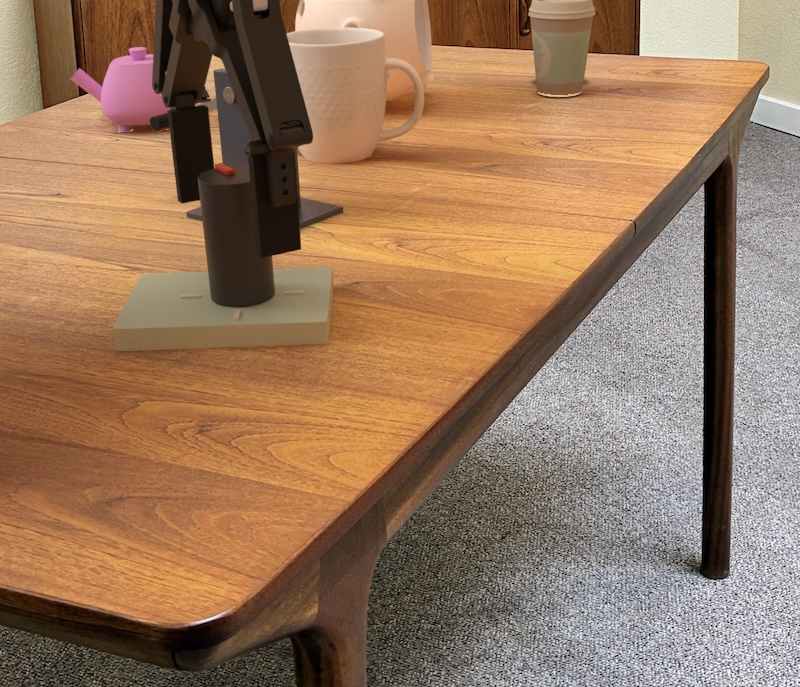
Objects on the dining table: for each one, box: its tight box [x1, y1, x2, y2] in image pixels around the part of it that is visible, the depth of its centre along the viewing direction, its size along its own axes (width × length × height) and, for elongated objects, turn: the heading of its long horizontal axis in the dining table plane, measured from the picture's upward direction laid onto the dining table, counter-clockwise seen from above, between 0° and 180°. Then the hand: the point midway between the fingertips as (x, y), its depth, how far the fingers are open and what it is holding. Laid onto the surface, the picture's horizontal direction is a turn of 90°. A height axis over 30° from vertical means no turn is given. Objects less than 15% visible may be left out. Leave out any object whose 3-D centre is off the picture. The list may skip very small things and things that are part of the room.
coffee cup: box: [527, 0, 596, 95], centre depth 142 cm, size 8×9×12 cm
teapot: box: [69, 46, 199, 133], centre depth 134 cm, size 10×15×9 cm
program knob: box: [198, 162, 275, 307], centre depth 74 cm, size 4×4×9 cm
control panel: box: [111, 266, 335, 352], centre depth 77 cm, size 14×10×3 cm
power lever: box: [149, 96, 217, 133], centre depth 99 cm, size 13×6×2 cm, turn 51°
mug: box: [286, 27, 425, 165], centre depth 116 cm, size 15×11×13 cm
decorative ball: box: [294, 0, 435, 103], centre depth 137 cm, size 20×17×20 cm
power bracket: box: [185, 68, 344, 230], centre depth 97 cm, size 11×9×14 cm
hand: (235, 224), depth 74 cm, fingers open, 13 cm apart
